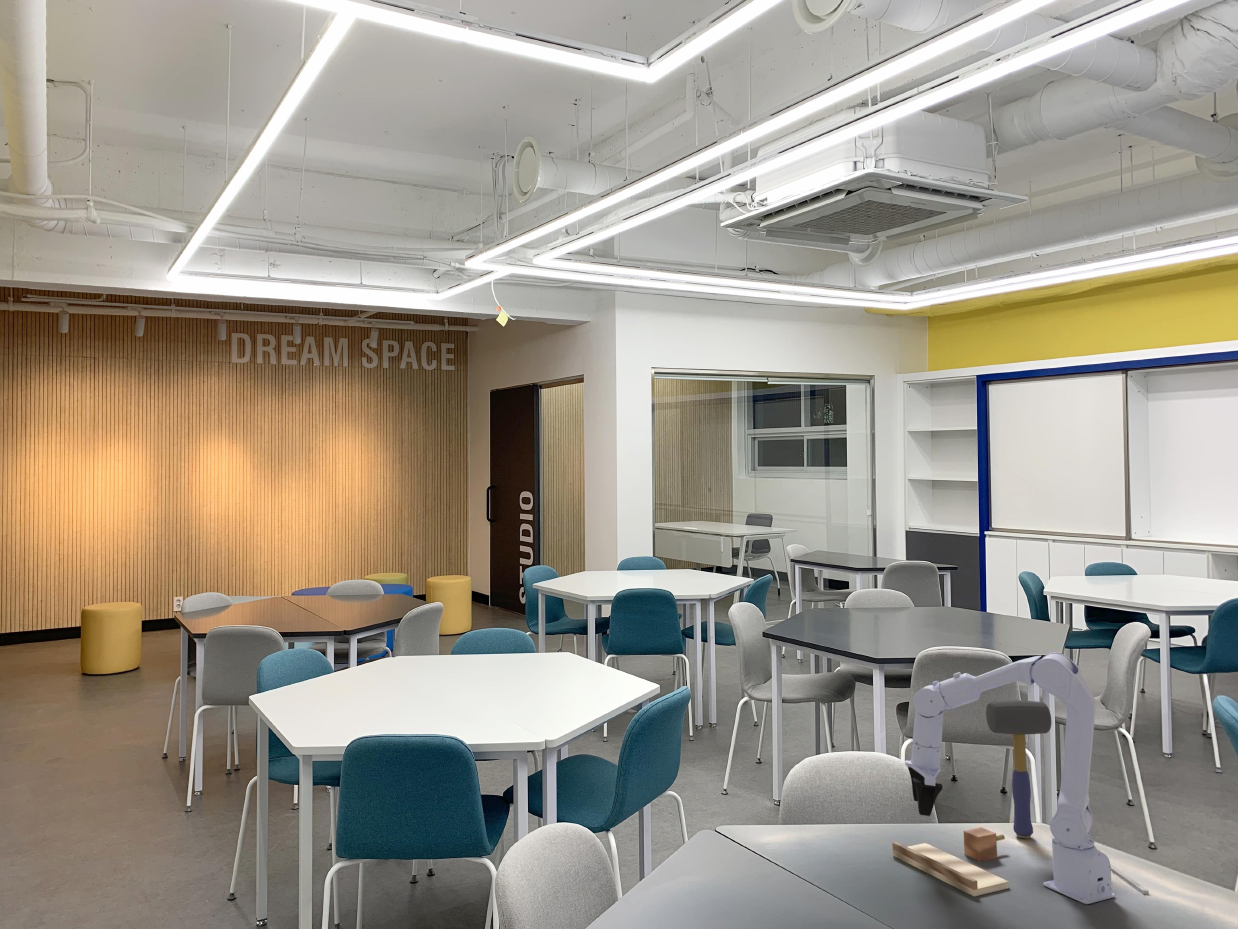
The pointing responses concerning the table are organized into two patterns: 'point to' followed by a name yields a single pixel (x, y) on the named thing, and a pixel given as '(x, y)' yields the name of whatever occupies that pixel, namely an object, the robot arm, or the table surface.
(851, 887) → the table surface
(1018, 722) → the rubber mallet
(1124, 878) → the pale grey thin rod
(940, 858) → the board
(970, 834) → the brown wooden block
